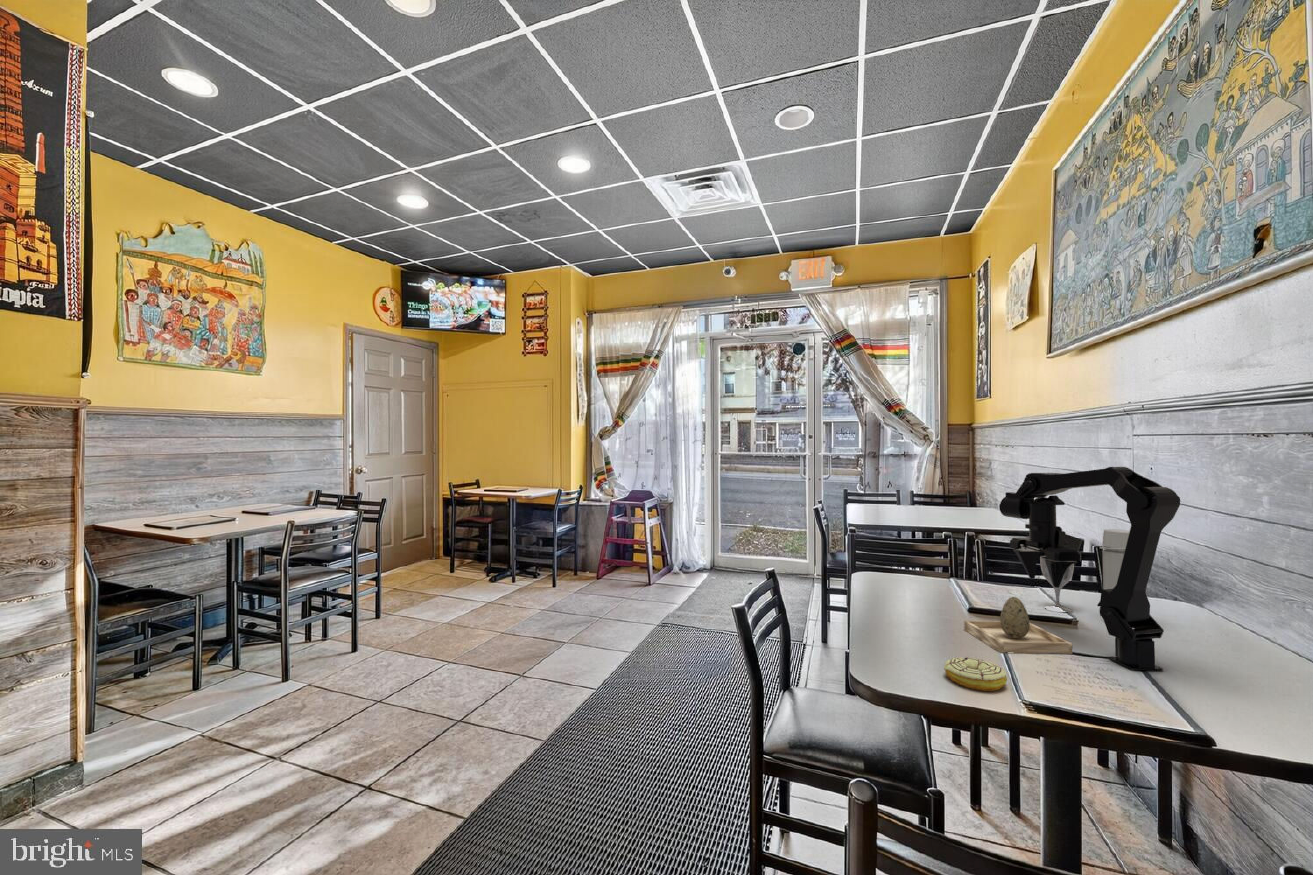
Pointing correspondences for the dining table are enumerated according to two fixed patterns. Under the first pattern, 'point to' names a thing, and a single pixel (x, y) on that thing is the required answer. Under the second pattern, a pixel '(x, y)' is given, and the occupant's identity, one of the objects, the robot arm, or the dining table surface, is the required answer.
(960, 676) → the decorated donut
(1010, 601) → the decorative egg
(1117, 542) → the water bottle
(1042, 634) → the wooden tray
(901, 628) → the dining table surface
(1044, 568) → the wine glass
